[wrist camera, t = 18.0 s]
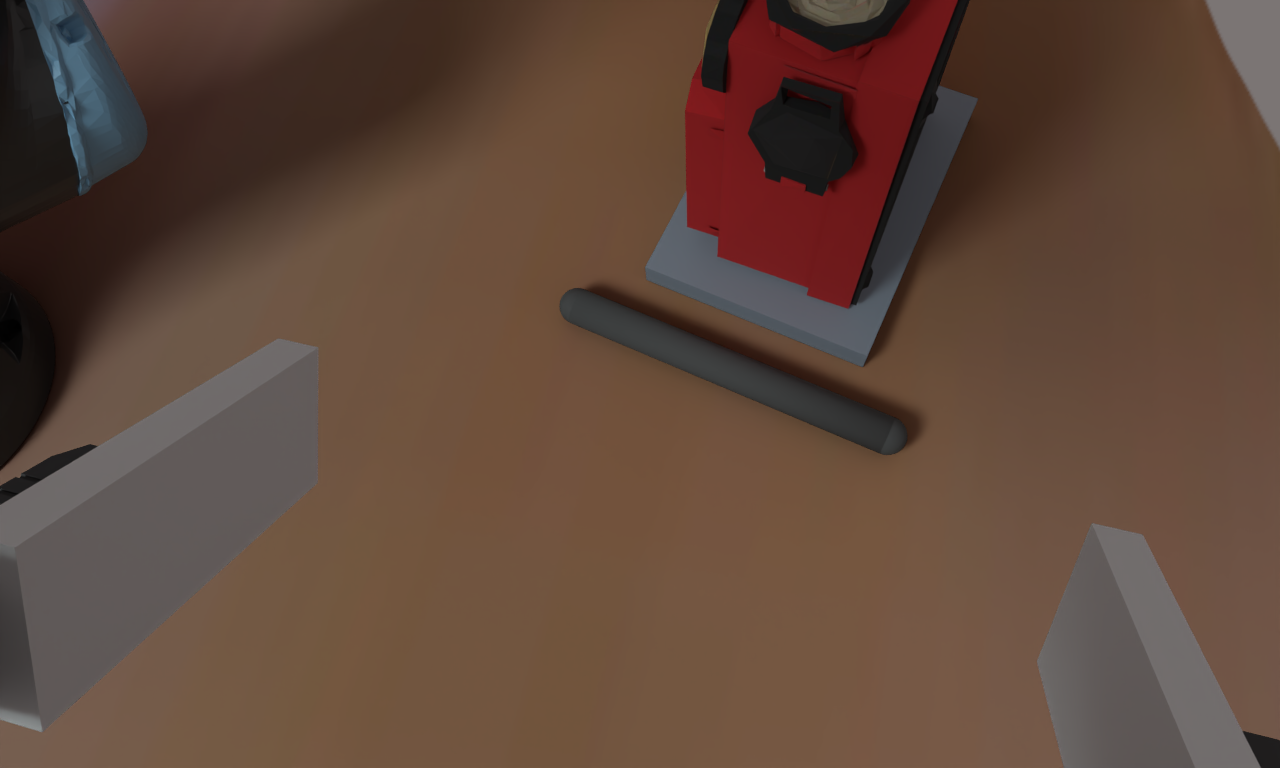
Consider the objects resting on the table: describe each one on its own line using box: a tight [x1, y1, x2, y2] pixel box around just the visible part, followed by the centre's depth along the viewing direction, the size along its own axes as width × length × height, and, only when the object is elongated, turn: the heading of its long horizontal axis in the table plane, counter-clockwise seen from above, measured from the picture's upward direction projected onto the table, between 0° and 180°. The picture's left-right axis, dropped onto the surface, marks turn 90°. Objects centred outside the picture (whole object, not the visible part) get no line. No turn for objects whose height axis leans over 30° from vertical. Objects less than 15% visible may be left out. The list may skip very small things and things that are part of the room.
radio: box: [685, 0, 970, 309], centre depth 45 cm, size 16×10×20 cm, turn 157°
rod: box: [560, 288, 907, 455], centre depth 51 cm, size 20×2×2 cm, turn 64°
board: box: [645, 86, 978, 367], centre depth 55 cm, size 13×18×2 cm
